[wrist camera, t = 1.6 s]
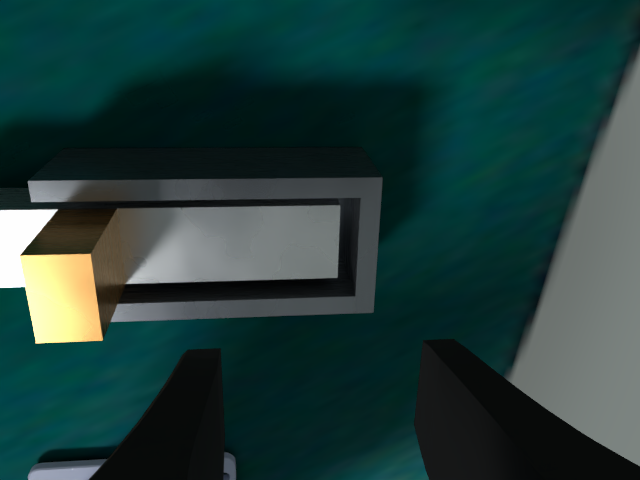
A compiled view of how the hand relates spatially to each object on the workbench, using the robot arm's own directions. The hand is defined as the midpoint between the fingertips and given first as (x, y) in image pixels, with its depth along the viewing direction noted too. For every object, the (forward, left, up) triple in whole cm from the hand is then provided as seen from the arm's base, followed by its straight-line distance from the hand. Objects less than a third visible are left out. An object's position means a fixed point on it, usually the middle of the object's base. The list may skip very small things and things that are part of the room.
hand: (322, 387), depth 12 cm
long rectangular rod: (0, +5, -9) cm, 10 cm away
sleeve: (0, +3, -10) cm, 10 cm away
